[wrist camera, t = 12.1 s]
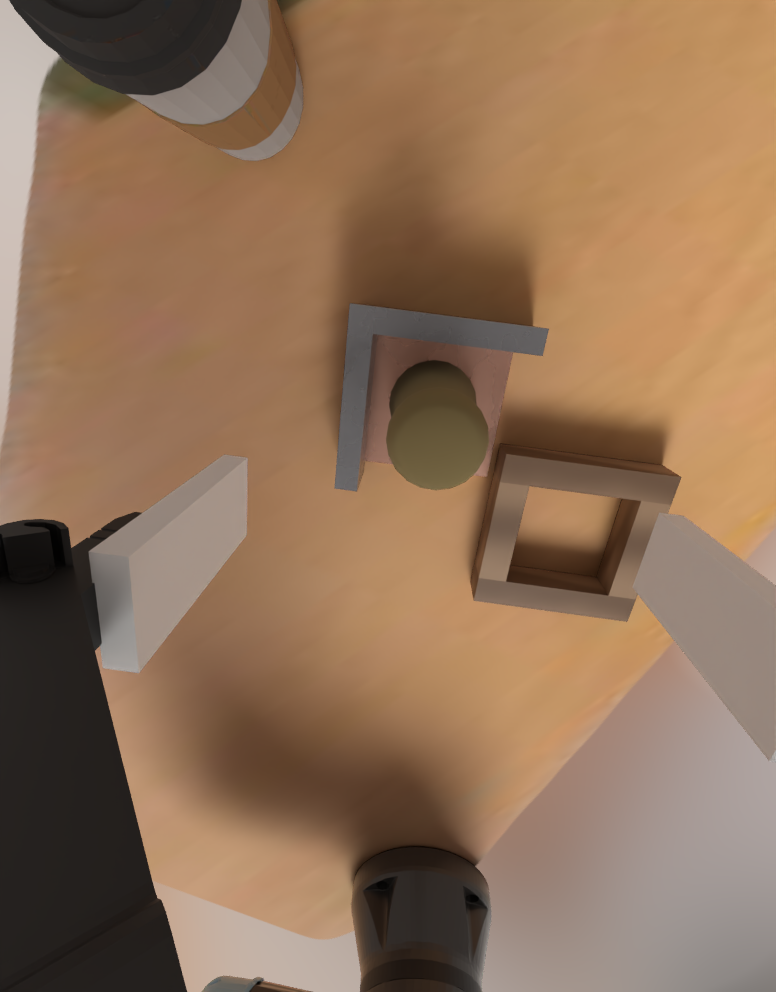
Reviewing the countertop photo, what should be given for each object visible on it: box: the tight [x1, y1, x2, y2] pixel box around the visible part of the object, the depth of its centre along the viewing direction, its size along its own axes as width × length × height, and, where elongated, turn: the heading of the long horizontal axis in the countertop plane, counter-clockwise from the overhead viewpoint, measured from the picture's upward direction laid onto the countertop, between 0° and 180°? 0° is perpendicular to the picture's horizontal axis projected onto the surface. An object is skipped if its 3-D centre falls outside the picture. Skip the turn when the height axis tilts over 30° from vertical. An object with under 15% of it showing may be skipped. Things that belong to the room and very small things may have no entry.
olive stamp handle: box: [386, 360, 489, 490], centre depth 28 cm, size 6×6×11 cm
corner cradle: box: [335, 303, 549, 491], centre depth 31 cm, size 12×12×4 cm
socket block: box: [470, 444, 681, 622], centre depth 35 cm, size 12×12×3 cm
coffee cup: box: [10, 0, 303, 161], centre depth 20 cm, size 8×8×15 cm
